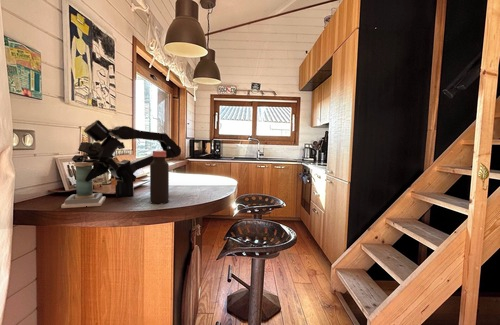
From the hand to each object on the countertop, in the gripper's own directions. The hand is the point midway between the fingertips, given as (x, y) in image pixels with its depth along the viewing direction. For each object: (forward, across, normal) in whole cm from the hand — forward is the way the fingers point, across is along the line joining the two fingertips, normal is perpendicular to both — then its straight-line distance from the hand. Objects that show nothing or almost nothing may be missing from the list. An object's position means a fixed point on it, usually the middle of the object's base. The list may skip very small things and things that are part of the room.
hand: (80, 180), depth 93 cm
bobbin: (+4, 0, +6) cm, 7 cm away
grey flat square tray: (+5, 0, +7) cm, 9 cm away
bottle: (-4, +23, +17) cm, 29 cm away
